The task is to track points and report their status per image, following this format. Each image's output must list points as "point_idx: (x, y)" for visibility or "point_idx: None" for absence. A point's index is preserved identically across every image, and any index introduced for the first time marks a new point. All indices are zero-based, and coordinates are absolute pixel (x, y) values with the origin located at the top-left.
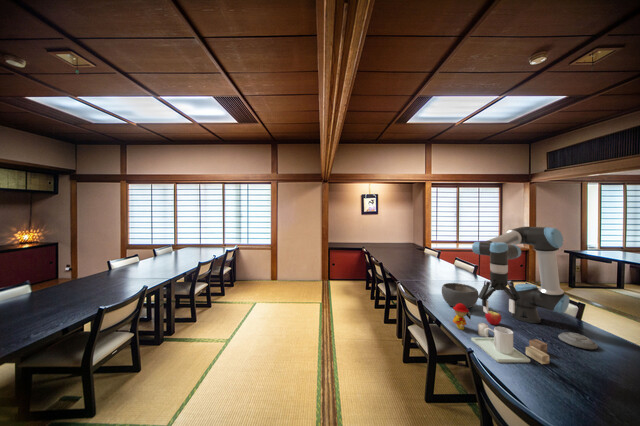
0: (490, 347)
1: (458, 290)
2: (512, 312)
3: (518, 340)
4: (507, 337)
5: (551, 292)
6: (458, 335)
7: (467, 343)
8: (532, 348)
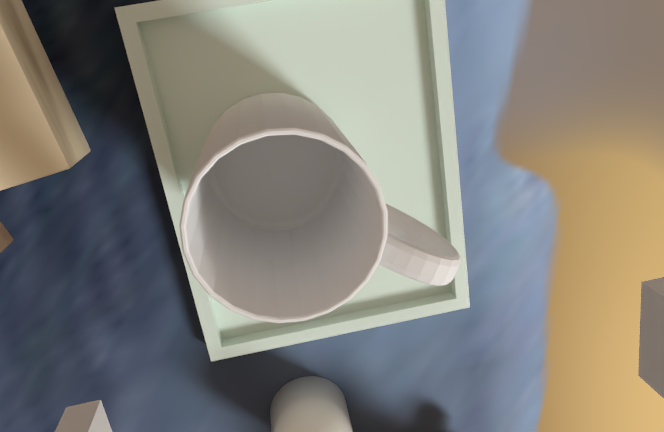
0: None
1: None
2: (103, 421)
3: (35, 382)
4: (289, 119)
5: None
6: (525, 351)
7: (520, 236)
8: (11, 146)
